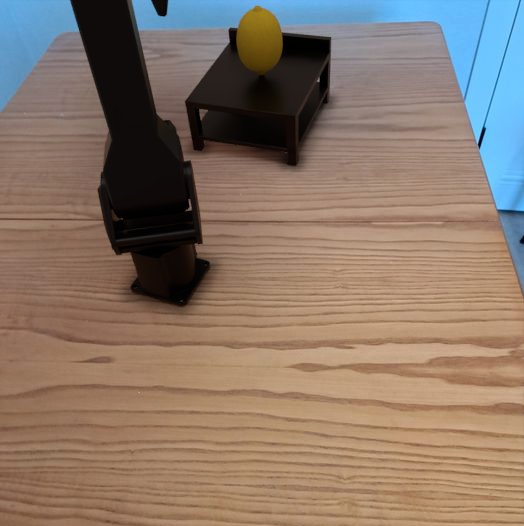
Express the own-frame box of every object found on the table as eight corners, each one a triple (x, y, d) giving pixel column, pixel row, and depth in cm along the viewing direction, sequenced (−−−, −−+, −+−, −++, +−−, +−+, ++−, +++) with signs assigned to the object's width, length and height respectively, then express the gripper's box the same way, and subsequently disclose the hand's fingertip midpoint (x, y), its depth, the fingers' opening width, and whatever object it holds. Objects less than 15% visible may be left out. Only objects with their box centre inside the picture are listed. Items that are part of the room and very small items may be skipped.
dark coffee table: (296, 166, 71) (295, 102, 65) (193, 150, 75) (182, 88, 68) (329, 98, 80) (331, 36, 74) (236, 87, 84) (230, 27, 77)
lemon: (232, 71, 73) (225, 3, 67) (272, 59, 74) (268, -9, 68) (250, 90, 70) (245, 21, 63) (291, 78, 71) (289, 9, 65)
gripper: (128, -100, 48) (165, 82, 60) (223, -162, 58) (238, 6, 70) (21, -108, 51) (77, 68, 63) (129, -164, 61) (159, -4, 73)
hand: (143, 33), depth 67 cm, fingers open, 9 cm apart
